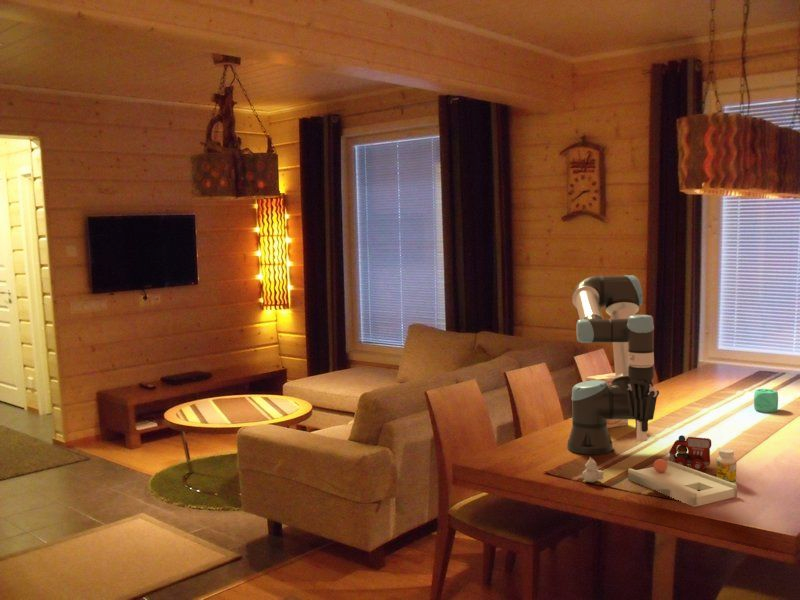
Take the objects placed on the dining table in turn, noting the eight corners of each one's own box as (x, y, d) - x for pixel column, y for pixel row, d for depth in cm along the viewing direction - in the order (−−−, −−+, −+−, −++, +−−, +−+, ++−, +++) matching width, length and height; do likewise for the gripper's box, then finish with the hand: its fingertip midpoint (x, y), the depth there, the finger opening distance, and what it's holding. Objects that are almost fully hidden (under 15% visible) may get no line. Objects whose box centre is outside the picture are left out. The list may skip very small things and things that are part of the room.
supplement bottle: (740, 483, 224) (740, 451, 223) (727, 486, 222) (727, 454, 221) (725, 478, 229) (725, 447, 228) (712, 481, 227) (712, 449, 226)
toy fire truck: (672, 462, 246) (672, 431, 245) (713, 468, 239) (713, 435, 238) (667, 468, 240) (667, 436, 239) (709, 474, 233) (709, 441, 232)
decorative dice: (775, 413, 302) (776, 393, 302) (753, 411, 307) (753, 392, 306) (778, 409, 309) (778, 389, 308) (756, 407, 313) (756, 388, 313)
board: (628, 480, 231) (628, 468, 230) (668, 471, 237) (668, 460, 237) (694, 507, 207) (693, 494, 207) (736, 496, 214) (736, 484, 213)
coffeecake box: (597, 430, 287) (596, 379, 286) (585, 426, 294) (584, 376, 292) (628, 424, 293) (628, 375, 292) (616, 421, 300) (616, 372, 298)
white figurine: (585, 477, 234) (585, 452, 234) (606, 481, 231) (606, 455, 230) (579, 483, 230) (579, 457, 229) (601, 486, 226) (600, 460, 225)
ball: (650, 471, 230) (650, 458, 230) (660, 469, 232) (660, 456, 232) (660, 475, 227) (660, 462, 226) (670, 472, 228) (670, 459, 228)
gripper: (617, 363, 238) (618, 438, 240) (646, 369, 226) (647, 447, 228) (635, 361, 241) (636, 434, 243) (665, 367, 229) (666, 444, 231)
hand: (641, 441), depth 235 cm, fingers closed
